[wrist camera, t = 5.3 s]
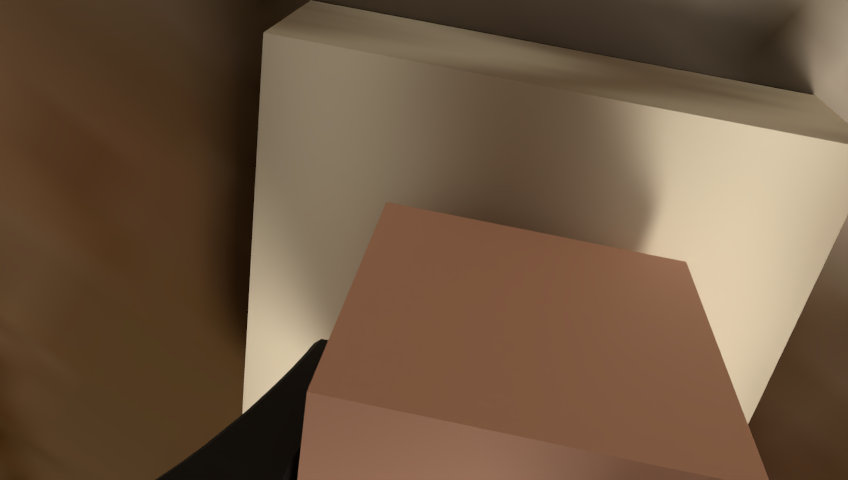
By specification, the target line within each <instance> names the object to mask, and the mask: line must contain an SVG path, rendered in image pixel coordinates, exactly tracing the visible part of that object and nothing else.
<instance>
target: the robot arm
mask: <svg viewBox="0 0 848 480" xmlns="http://www.w3.org/2000/svg"><path fill="white" fill-rule="evenodd" d="M327 342H328V340H325V339H320V340H319V341H317V342H315V343H314V344H313V345H312V346H311V347H310V348H309V350H308V351H307V352H306V353H305V354H304V355H303V356H302V357H301V359H300V360H299V361H298V362H297V363H296V364H295V365H294V366H293V367H292V368H291V369H290V370H289V371H288V372H287V373H286V374H285V375H284V376H283V377H282V378H281V379H280V380H279V381H278V382H277V383H276V384H275V385H274V386H273V387H272V388H271V389H270V390H269V391H268V392H266V393H265V394H264V395H263V396H262V397H261V398H260V399H259V400H258V401H257V402H256V403H255V404H253V405H252V406H251V407H250V408H249V409H248V410H247V411H246V412H245V413H243V414H242V415H241V416H240V417H239V418H238V419H236V420H235V421H234V422H233V423H231V424H230V425H229V426H228V427H226V428H225V429H224V430H223V431H222V432H220V433H219V434H218V435H217V436H215V437H214V438H213V439H212V440H210V441H209V442H208V443H207V444H205V445H204V446H203V447H202V448H200V449H199V450H197V451H196V452H195V453H193V454H192V455H191V456H189V457H188V458H187V459H185V460H184V461H182V462H181V463H180V464H178V465H177V466H175V467H174V468H172V469H171V470H169V471H168V472H166V473H165V474H163V475H162V476H160V477H159V478H157V479H156V480H297V478H298V469H299V459H300V450H301V441H302V432H303V422H304V413H305V404H306V395H307V390H308V388H309V385H310V383H311V380H312V378H313V376H314V373H315V371H316V369H317V366H318V364H319V361H320V359H321V357H322V354H323V352H324V349H325V347H326V345H327Z"/></svg>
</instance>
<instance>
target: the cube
mask: <svg viewBox="0 0 848 480" xmlns="http://www.w3.org/2000/svg"><path fill="white" fill-rule="evenodd" d="M297 480H769V479H768V476H767V474H766V471H765V469H764V466H763V463H762V461H761V458H760V455H759V453H758V450H757V447H756V445H755V442H754V440H753V437H752V434H751V432H750V429H749V426H748V424H747V421H746V418H745V416H744V413H743V411H742V408H741V405H740V403H739V400H738V397H737V395H736V392H735V389H734V387H733V384H732V382H731V379H730V376H729V374H728V371H727V368H726V366H725V363H724V360H723V358H722V355H721V352H720V350H719V347H718V345H717V342H716V339H715V337H714V334H713V331H712V329H711V326H710V323H709V321H708V318H707V316H706V313H705V310H704V308H703V305H702V302H701V300H700V297H699V294H698V292H697V289H696V287H695V284H694V281H693V279H692V276H691V273H690V271H689V268H688V265H687V263H686V262H685V261H680V260H675V259H670V258H665V257H660V256H655V255H650V254H645V253H640V252H635V251H630V250H625V249H620V248H615V247H610V246H605V245H600V244H595V243H590V242H585V241H580V240H575V239H570V238H565V237H560V236H555V235H550V234H545V233H540V232H535V231H530V230H525V229H520V228H515V227H510V226H505V225H500V224H495V223H490V222H484V221H479V220H474V219H469V218H464V217H459V216H454V215H449V214H444V213H439V212H434V211H429V210H424V209H419V208H414V207H409V206H404V205H399V204H394V203H389V202H386V204H385V206H384V209H383V211H382V213H381V216H380V218H379V221H378V223H377V225H376V228H375V230H374V233H373V235H372V237H371V240H370V242H369V244H368V247H367V249H366V252H365V254H364V256H363V259H362V261H361V264H360V266H359V268H358V271H357V273H356V276H355V278H354V280H353V283H352V285H351V287H350V290H349V292H348V295H347V297H346V299H345V302H344V304H343V307H342V309H341V311H340V314H339V316H338V318H337V321H336V323H335V326H334V328H333V330H332V333H331V335H330V338H329V340H328V342H327V345H326V347H325V349H324V352H323V354H322V357H321V359H320V361H319V364H318V366H317V369H316V371H315V373H314V376H313V378H312V380H311V383H310V385H309V388H308V390H307V395H306V404H305V413H304V422H303V432H302V441H301V450H300V459H299V469H298V478H297Z"/></svg>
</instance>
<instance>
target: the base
mask: <svg viewBox="0 0 848 480" xmlns="http://www.w3.org/2000/svg"><path fill="white" fill-rule="evenodd" d="M386 202H389V203H394V204H399V205H404V206H409V207H414V208H419V209H424V210H429V211H434V212H439V213H444V214H449V215H454V216H459V217H464V218H469V219H474V220H479V221H484V222H490V223H495V224H500V225H505V226H510V227H515V228H520V229H525V230H530V231H535V232H540V233H545V234H550V235H555V236H560V237H565V238H570V239H575V240H580V241H585V242H590V243H595V244H600V245H605V246H610V247H615V248H620V249H625V250H630V251H635V252H640V253H645V254H650V255H655V256H660V257H665V258H670V259H675V260H680V261H685V262H686V263H687V265H688V268H689V271H690V273H691V276H692V279H693V281H694V284H695V287H696V289H697V292H698V294H699V297H700V300H701V302H702V305H703V308H704V310H705V313H706V316H707V318H708V321H709V323H710V326H711V329H712V331H713V334H714V337H715V339H716V342H717V345H718V347H719V350H720V352H721V355H722V358H723V360H724V363H725V366H726V368H727V371H728V374H729V376H730V379H731V382H732V384H733V387H734V389H735V392H736V395H737V397H738V400H739V403H740V405H741V408H742V411H743V413H744V416H745V418H746V421H747V424H748V423H749V421H750V419H751V417H752V415H753V413H754V411H755V409H756V406H757V404H758V402H759V400H760V398H761V396H762V394H763V392H764V390H765V387H766V385H767V383H768V381H769V379H770V377H771V375H772V373H773V371H774V369H775V366H776V364H777V362H778V360H779V358H780V356H781V354H782V352H783V350H784V347H785V345H786V343H787V341H788V339H789V337H790V335H791V333H792V331H793V329H794V326H795V324H796V322H797V320H798V318H799V316H800V314H801V312H802V310H803V307H804V305H805V303H806V301H807V299H808V297H809V295H810V293H811V291H812V289H813V286H814V284H815V282H816V280H817V278H818V276H819V274H820V272H821V270H822V267H823V265H824V263H825V261H826V259H827V257H828V255H829V253H830V251H831V249H832V246H833V244H834V242H835V240H836V238H837V236H838V234H839V232H840V230H841V227H842V225H843V223H844V221H845V219H846V217H847V215H848V123H847V122H845V121H844V120H843V119H842V118H841V117H840V116H839V115H837V114H836V113H835V112H834V111H833V110H832V109H830V108H829V107H828V106H827V105H826V104H825V103H824V102H822V101H821V100H820V99H819V98H818V97H817V96H815V95H810V94H805V93H800V92H794V91H789V90H784V89H778V88H773V87H768V86H762V85H757V84H752V83H747V82H741V81H736V80H731V79H725V78H720V77H715V76H709V75H704V74H699V73H694V72H688V71H683V70H678V69H672V68H667V67H662V66H657V65H651V64H646V63H641V62H635V61H630V60H625V59H619V58H614V57H609V56H604V55H598V54H593V53H588V52H582V51H577V50H572V49H566V48H561V47H556V46H551V45H545V44H540V43H535V42H529V41H524V40H519V39H513V38H508V37H503V36H498V35H492V34H487V33H482V32H476V31H471V30H466V29H461V28H455V27H450V26H445V25H439V24H434V23H429V22H423V21H418V20H413V19H408V18H402V17H397V16H392V15H386V14H381V13H376V12H370V11H365V10H360V9H355V8H349V7H344V6H339V5H333V4H328V3H323V2H318V1H312V0H311V1H309V2H308V3H306V4H305V5H303V6H302V7H300V8H299V9H297V10H296V11H294V12H293V13H291V14H290V15H289V16H287V17H286V18H284V19H283V20H281V21H280V22H278V23H277V24H275V25H274V26H272V27H271V28H269V29H268V30H266V31H265V32H264V33H263V49H262V67H261V85H260V103H259V122H258V140H257V158H256V176H255V195H254V213H253V231H252V249H251V268H250V286H249V304H248V322H247V340H246V359H245V377H244V395H243V413H245V412H246V411H247V410H248V409H249V408H250V407H251V406H252V405H253V404H255V403H256V402H257V401H258V400H259V399H260V398H261V397H262V396H263V395H264V394H265V393H266V392H268V391H269V390H270V389H271V388H272V387H273V386H274V385H275V384H276V383H277V382H278V381H279V380H280V379H281V378H282V377H283V376H284V375H285V374H286V373H287V372H288V371H289V370H290V369H291V368H292V367H293V366H294V365H295V364H296V363H297V362H298V361H299V360H300V359H301V357H302V356H303V355H304V354H305V353H306V352H307V351H308V350H309V348H310V347H311V346H312V345H313V344H314V343H315V342H317V341H319V340H320V339H325V340H329V338H330V335H331V333H332V330H333V328H334V326H335V323H336V321H337V318H338V316H339V314H340V311H341V309H342V307H343V304H344V302H345V299H346V297H347V295H348V292H349V290H350V287H351V285H352V283H353V280H354V278H355V276H356V273H357V271H358V268H359V266H360V264H361V261H362V259H363V256H364V254H365V252H366V249H367V247H368V244H369V242H370V240H371V237H372V235H373V233H374V230H375V228H376V225H377V223H378V221H379V218H380V216H381V213H382V211H383V209H384V206H385V204H386ZM243 413H242V414H243Z"/></svg>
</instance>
